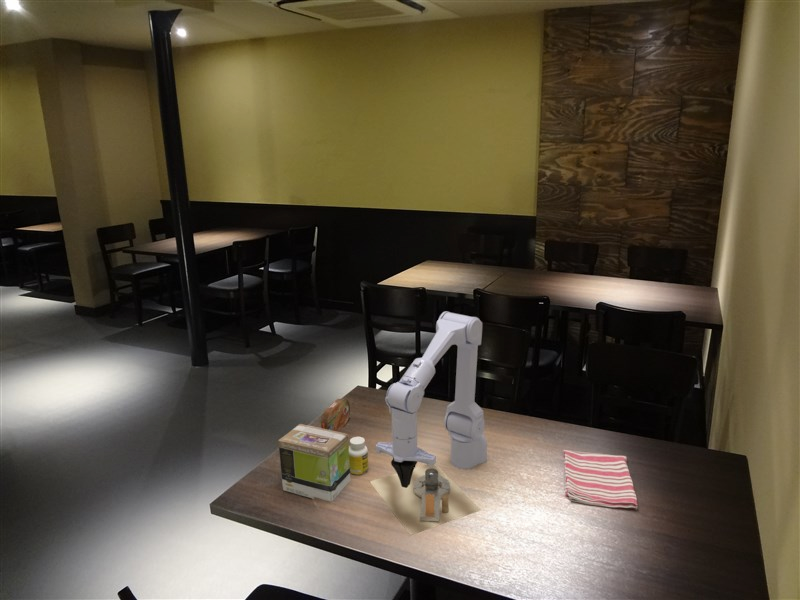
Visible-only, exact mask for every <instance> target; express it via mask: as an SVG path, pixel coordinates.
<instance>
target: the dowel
mask: <svg viewBox="0 0 800 600" xmlns="http://www.w3.org/2000/svg"><path fill="white" fill-rule="evenodd" d="M442 512H443V513H448V512H449V496H448V495H442Z"/></svg>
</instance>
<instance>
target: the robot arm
mask: <svg viewBox="0 0 800 600" xmlns="http://www.w3.org/2000/svg"><path fill="white" fill-rule="evenodd" d="M482 336H483V321H481V320H480V318H479V317H477V316H469V315H465V314H460V313H455V312H450V311H447V310H446V311H443V312H442V313H441V314H440V315H439V317H438V320H437V321H436V324H435V334H434V336H433V338H432V339H431V341H430V343H429V345H428V346H427V348H426V350H425V351H424V353H423V354H422V357H417V358H415V359H414V360H413V362H412V363H411V364H410V365H409V366H408V368H407V370H406V371H405V372H404V374H403V375H402V377H401V378H400V379H399V380H398V381H397V382H394V383H392V384H390V386H389V387H388V389H387V391H386V397H385V398H384V400H385V403H386V406H388V413H389V414H390V415H391V439H392V441H391V442H383V441H379V442H378V443H377V444H375V453H376V454H382V453H383V454H385V455H386V454H387V455H389V456H391V457H392V459H391V460H390V465H391V467H392V468H393V469H394V470H395V472H396V473H397V474H398V477H399V479H400V483H401V486H402V487H405V488H407V487H408V486H409V485H410V482H411V477H412V473H413V470H414V468H416V467H417V466H416V465H417V463H422V464H424V465H426V464H428V466H430V467H433V466H434V464H436V462H437V460H436V459H437V457H436V456H437V455H435V454H432V453H429V452H427V451H426V450H424V449H422V448H420V447H419V446H418V409H420V407H421V405H422V401H423V397H424V396H425V389H426V388H427V386H428V385H429V383H430V382H431V380H432V379H433V377H434V376H435V374H436V368H435V366H436V365H437V363H438V362H439V361H440V360H441V358H442V357H443V356H444V355H445V354H446V353H447V351H448V350H449V349H450V348H451V347H452V346H453V345H456V346H457V353H456V355H457V356H456V371H455V372H456V375H455V393H454V400H453V401H452V402H450V403H449V404H448V405H447V406H446V413H445V416H444V418H443V425H444V428H445V430H446V431H448V435H449V436H450V464H451V466H453V467H455V468H457V469H460V470H461V469H462V470H469V469H473V468H475V467H476V466H479V465H481V464H484V463H486V462H487V455H488V451H487V450H488V442H487V439H486V437H485V434H484V431H485V427H486V422H485V419H484V418H485V417H484V416H485V415H484V413H485V412H484V410H483V408H482V407H481V406H480V405H478V404H477V402H475V397H476V395H475V394H476V379H477V365H478V363H477V362H478V350H479V349H478V348H479V347H478V346H481V345H482V338H483V337H482Z"/></svg>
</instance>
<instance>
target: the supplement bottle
mask: <svg viewBox="0 0 800 600" xmlns="http://www.w3.org/2000/svg"><path fill="white" fill-rule="evenodd" d="M349 461H350V475H351V476H363V475H365V474H367V472H368V471H369V450H368V446H366V440H365V438H364V437H361V436H353V437H352V438H350V439H349Z"/></svg>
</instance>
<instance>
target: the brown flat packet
mask: <svg viewBox="0 0 800 600" xmlns="http://www.w3.org/2000/svg"><path fill="white" fill-rule="evenodd" d="M350 413H351V407H350V402H349V400H348V399H346V398H337V399H336V400H334V401H333V402H332V403H331V404H330V405H329V406H328V407H327V408H326V409H325V410H324V411H323V413H322V416H321V419H320V426H321V427H320V428H323V429H327V430H332V431H337V432H341V430H342V429H343V428H344V427H345V425H347V423H348V421H349V420H350V419H349V418H350Z"/></svg>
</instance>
